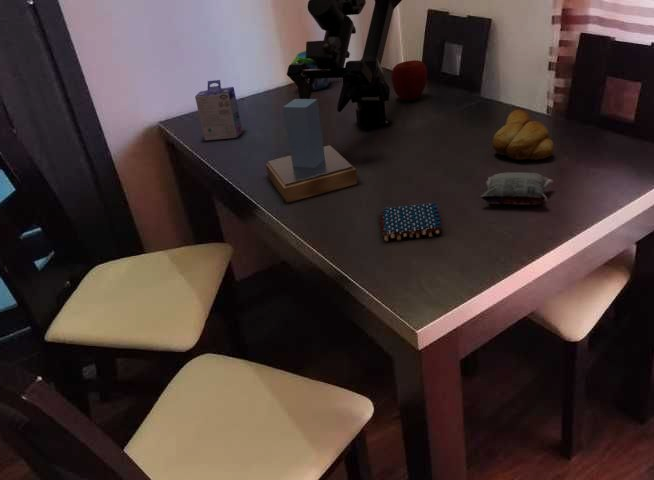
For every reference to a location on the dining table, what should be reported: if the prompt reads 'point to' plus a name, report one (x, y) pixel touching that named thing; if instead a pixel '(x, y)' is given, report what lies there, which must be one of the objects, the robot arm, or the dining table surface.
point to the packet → (304, 132)
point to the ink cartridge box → (218, 112)
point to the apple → (409, 79)
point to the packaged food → (516, 188)
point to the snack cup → (301, 58)
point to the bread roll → (523, 138)
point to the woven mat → (410, 221)
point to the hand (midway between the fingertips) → (320, 111)
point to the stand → (311, 176)
